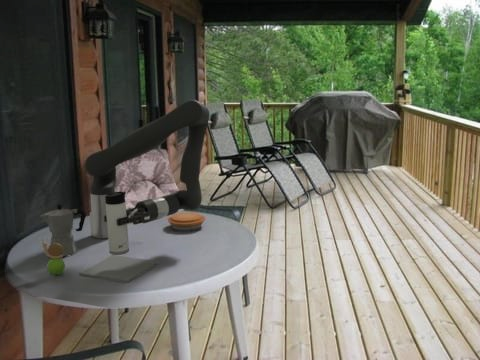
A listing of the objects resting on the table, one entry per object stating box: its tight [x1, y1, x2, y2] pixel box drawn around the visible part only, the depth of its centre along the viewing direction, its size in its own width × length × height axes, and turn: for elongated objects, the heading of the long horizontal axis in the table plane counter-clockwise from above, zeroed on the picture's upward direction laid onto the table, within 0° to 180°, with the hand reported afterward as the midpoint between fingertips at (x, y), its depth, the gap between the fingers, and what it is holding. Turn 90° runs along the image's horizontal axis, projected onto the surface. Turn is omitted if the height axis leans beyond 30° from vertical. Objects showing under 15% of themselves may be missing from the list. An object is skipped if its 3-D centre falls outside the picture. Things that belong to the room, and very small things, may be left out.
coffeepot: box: [39, 203, 87, 257], centre depth 192 cm, size 15×9×18 cm, turn 115°
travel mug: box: [105, 191, 130, 256], centre depth 174 cm, size 6×7×20 cm
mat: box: [79, 254, 159, 283], centre depth 177 cm, size 18×18×1 cm
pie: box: [167, 212, 206, 232], centre depth 223 cm, size 16×16×5 cm
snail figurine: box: [41, 237, 66, 276], centre depth 172 cm, size 5×6×12 cm
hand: (111, 220), depth 172 cm, fingers closed on travel mug, 6 cm apart
